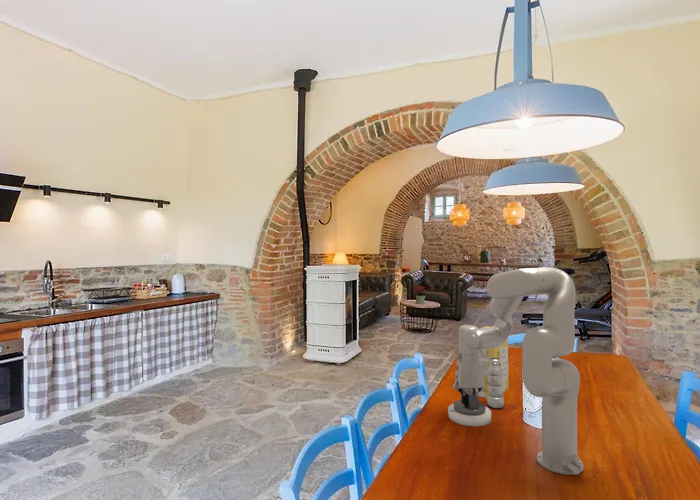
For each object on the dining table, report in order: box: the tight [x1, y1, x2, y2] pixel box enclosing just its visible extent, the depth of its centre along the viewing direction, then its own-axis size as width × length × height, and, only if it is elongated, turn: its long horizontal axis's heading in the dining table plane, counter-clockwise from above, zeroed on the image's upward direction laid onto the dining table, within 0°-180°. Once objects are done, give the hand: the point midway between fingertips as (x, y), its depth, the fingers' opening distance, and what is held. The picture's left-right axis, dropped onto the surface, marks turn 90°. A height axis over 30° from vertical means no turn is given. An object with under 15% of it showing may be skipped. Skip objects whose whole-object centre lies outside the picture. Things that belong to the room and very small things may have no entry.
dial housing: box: [447, 403, 492, 427], centre depth 159 cm, size 16×16×3 cm
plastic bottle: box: [486, 358, 505, 409], centre depth 169 cm, size 6×7×20 cm
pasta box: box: [470, 326, 510, 399], centre depth 188 cm, size 18×10×28 cm, turn 141°
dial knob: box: [453, 388, 487, 415], centre depth 159 cm, size 12×12×6 cm
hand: (469, 404), depth 159 cm, fingers closed on dial knob, 3 cm apart
